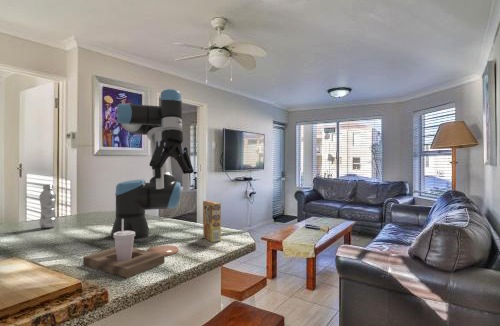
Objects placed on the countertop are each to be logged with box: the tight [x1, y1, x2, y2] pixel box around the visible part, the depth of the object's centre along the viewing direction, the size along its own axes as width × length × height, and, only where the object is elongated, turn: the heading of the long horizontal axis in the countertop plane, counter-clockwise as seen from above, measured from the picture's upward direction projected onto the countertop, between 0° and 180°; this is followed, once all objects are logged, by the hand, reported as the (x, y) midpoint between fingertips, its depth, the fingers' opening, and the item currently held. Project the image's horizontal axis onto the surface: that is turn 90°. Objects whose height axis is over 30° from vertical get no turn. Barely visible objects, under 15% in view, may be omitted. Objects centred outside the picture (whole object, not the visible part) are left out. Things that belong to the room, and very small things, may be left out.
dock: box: [82, 246, 165, 279], centre depth 94 cm, size 20×14×2 cm
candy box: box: [202, 200, 222, 243], centre depth 123 cm, size 9×4×15 cm, turn 33°
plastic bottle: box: [38, 184, 58, 229], centre depth 140 cm, size 6×7×20 cm
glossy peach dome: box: [145, 244, 180, 257], centre depth 107 cm, size 11×11×1 cm
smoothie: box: [112, 219, 135, 262], centre depth 94 cm, size 6×6×14 cm
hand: (174, 190), depth 105 cm, fingers open, 13 cm apart
